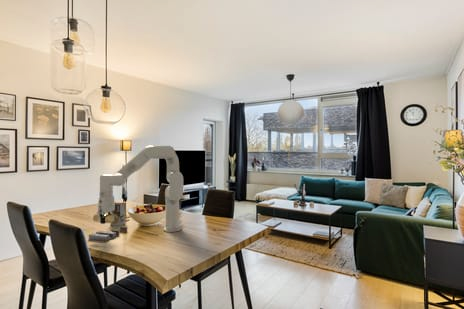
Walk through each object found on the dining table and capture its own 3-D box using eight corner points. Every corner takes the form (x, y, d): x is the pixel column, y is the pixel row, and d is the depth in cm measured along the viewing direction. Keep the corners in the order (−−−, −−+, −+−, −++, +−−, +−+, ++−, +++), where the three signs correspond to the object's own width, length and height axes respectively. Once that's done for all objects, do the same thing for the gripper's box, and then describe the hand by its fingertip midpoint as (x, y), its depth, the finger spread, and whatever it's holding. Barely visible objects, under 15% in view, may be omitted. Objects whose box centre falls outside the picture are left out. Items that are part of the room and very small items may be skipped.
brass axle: (99, 220, 168) (99, 213, 168) (114, 222, 165) (114, 214, 165) (92, 222, 164) (93, 215, 164) (108, 224, 160) (108, 216, 160)
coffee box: (126, 223, 198) (126, 202, 198) (120, 226, 192) (120, 204, 192) (116, 222, 201) (116, 202, 200) (110, 225, 194) (110, 203, 194)
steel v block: (99, 235, 171) (99, 230, 171) (116, 236, 168) (116, 232, 168) (88, 239, 162) (88, 234, 162) (105, 241, 159) (105, 236, 159)
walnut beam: (121, 231, 180) (121, 226, 180) (127, 231, 178) (127, 226, 178) (111, 235, 171) (111, 230, 171) (118, 235, 170) (118, 230, 170)
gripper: (101, 196, 155) (100, 226, 155) (120, 192, 171) (120, 219, 171) (90, 195, 157) (90, 225, 157) (111, 191, 173) (110, 218, 173)
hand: (106, 222), depth 164 cm, fingers closed on brass axle, 5 cm apart
